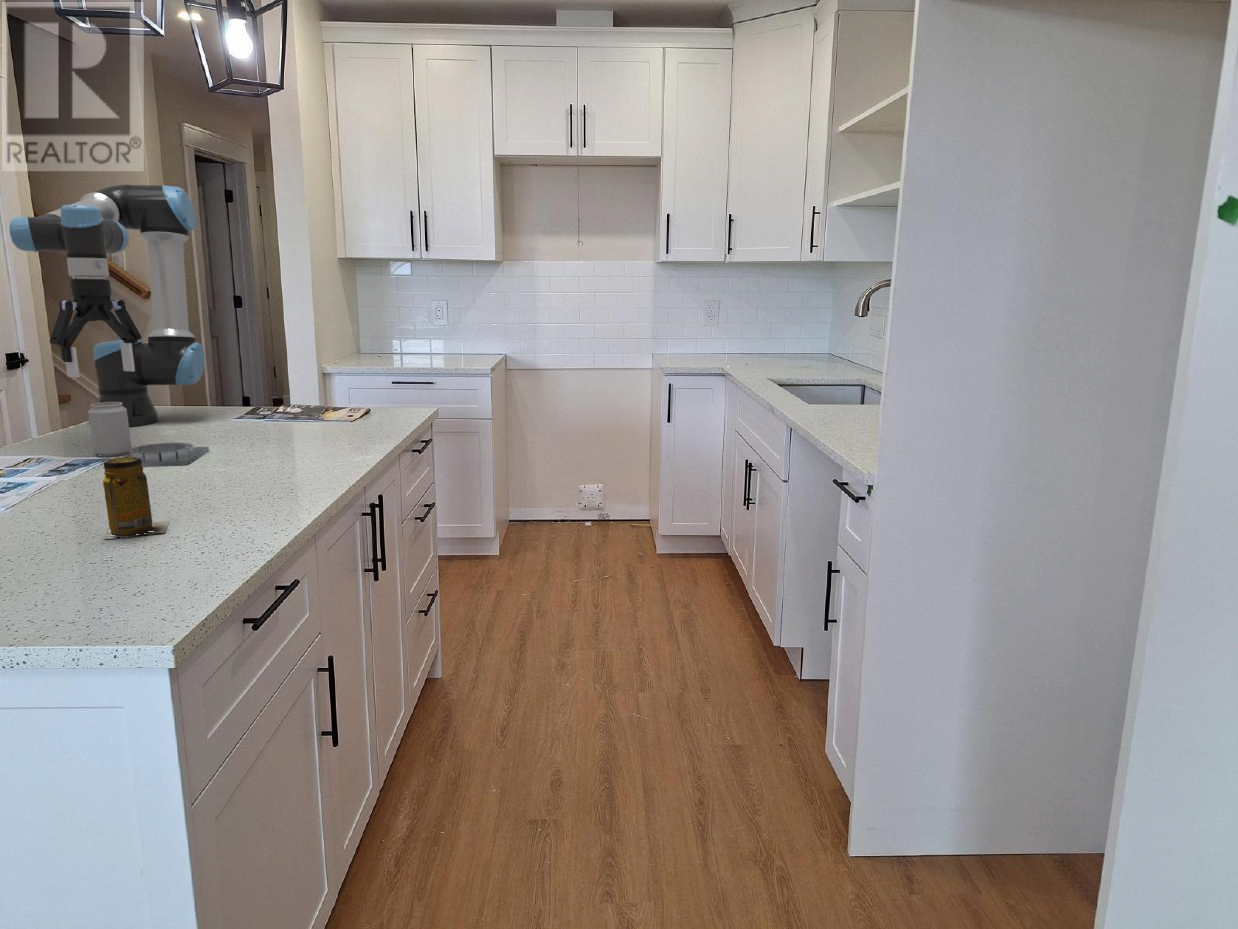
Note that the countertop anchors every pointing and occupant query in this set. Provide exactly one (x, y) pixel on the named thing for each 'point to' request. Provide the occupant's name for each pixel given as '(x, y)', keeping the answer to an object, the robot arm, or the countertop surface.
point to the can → (109, 429)
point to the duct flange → (167, 454)
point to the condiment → (128, 499)
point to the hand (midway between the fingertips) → (102, 374)
